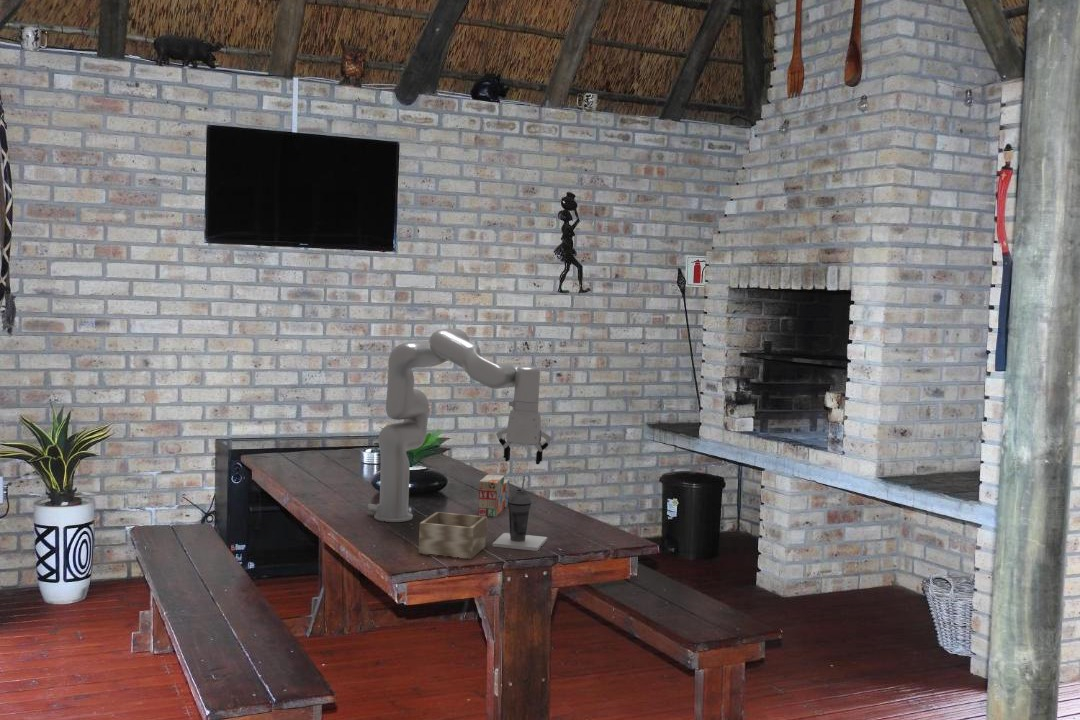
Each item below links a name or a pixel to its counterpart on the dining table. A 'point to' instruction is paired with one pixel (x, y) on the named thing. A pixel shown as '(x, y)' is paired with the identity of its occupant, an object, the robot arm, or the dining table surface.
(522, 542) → the tile
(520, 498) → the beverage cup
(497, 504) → the stack of blocks
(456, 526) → the crate
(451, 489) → the dining table surface
